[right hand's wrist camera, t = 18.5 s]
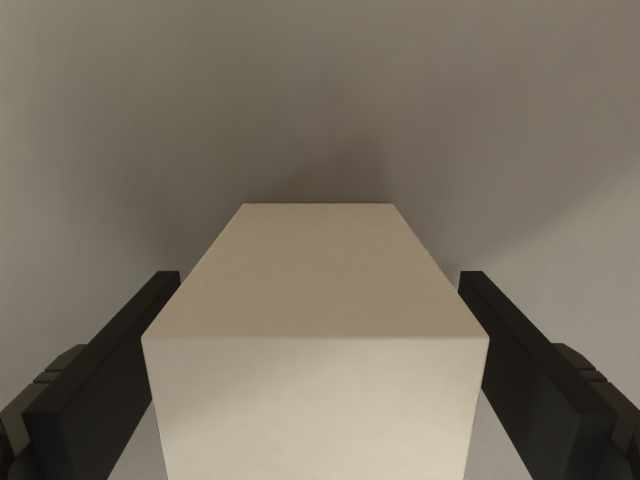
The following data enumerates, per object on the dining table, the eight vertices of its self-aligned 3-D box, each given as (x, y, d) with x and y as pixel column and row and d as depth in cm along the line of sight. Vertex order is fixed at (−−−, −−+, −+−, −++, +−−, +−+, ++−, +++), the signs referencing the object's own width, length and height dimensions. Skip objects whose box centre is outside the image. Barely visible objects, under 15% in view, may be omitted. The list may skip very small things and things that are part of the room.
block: (242, 203, 15) (138, 337, 6) (393, 203, 15) (491, 337, 6) (252, 337, 17) (184, 572, 9) (383, 337, 17) (448, 572, 9)
